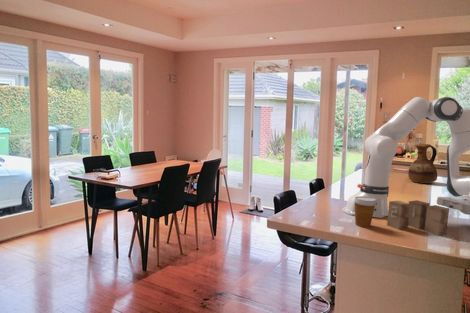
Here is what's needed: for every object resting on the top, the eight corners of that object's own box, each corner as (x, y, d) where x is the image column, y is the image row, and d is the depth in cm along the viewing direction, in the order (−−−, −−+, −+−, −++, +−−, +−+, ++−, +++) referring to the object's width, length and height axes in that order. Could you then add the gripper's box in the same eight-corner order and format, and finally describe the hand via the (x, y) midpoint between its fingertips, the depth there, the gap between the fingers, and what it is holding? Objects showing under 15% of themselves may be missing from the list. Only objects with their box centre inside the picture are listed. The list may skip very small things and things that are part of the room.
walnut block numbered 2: (395, 224, 169) (398, 200, 168) (407, 228, 164) (410, 203, 163) (386, 225, 166) (388, 201, 165) (398, 229, 161) (400, 204, 160)
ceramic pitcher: (402, 179, 297) (406, 142, 294) (426, 180, 299) (430, 143, 296) (417, 184, 278) (421, 144, 274) (442, 185, 280) (446, 145, 277)
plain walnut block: (432, 229, 163) (435, 205, 162) (446, 233, 158) (449, 208, 157) (424, 231, 160) (427, 206, 159) (437, 235, 155) (440, 209, 154)
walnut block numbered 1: (414, 223, 171) (417, 200, 170) (426, 227, 166) (429, 203, 165) (405, 225, 168) (408, 201, 167) (418, 229, 163) (420, 204, 162)
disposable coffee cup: (350, 226, 162) (353, 199, 161) (352, 220, 171) (354, 195, 170) (374, 229, 159) (376, 202, 158) (374, 223, 168) (376, 197, 167)
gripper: (447, 192, 181) (430, 194, 174) (493, 203, 163) (476, 205, 157) (445, 205, 182) (428, 207, 175) (491, 217, 164) (473, 219, 157)
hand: (451, 206), depth 166 cm, fingers closed
